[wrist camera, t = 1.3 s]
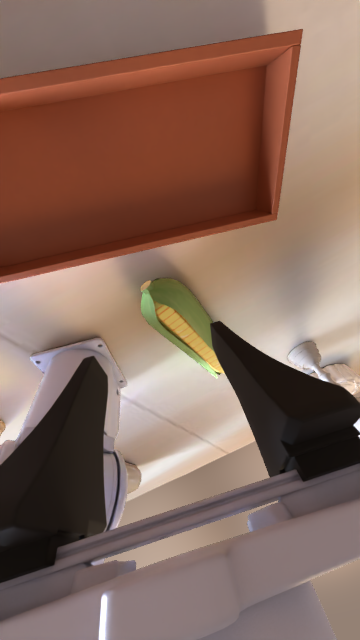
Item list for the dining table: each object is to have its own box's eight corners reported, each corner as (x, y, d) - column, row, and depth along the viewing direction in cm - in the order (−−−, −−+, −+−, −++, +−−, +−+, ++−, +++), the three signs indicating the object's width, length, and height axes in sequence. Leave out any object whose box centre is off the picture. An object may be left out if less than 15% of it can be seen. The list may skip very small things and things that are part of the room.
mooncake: (357, 355, 37) (376, 370, 35) (337, 390, 45) (351, 404, 42) (298, 373, 37) (312, 390, 34) (288, 405, 44) (299, 421, 41)
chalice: (329, 344, 33) (478, 472, 19) (298, 370, 36) (408, 497, 22) (305, 332, 30) (465, 476, 16) (273, 361, 33) (383, 505, 19)
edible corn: (164, 256, 19) (173, 276, 15) (244, 356, 30) (260, 381, 27) (124, 289, 20) (123, 315, 16) (216, 373, 31) (227, 399, 28)
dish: (257, 213, 18) (277, 219, 16) (-14, 275, 16) (-38, 292, 14) (270, 55, 12) (303, 27, 10) (-140, 125, 11) (-215, 113, 8)
